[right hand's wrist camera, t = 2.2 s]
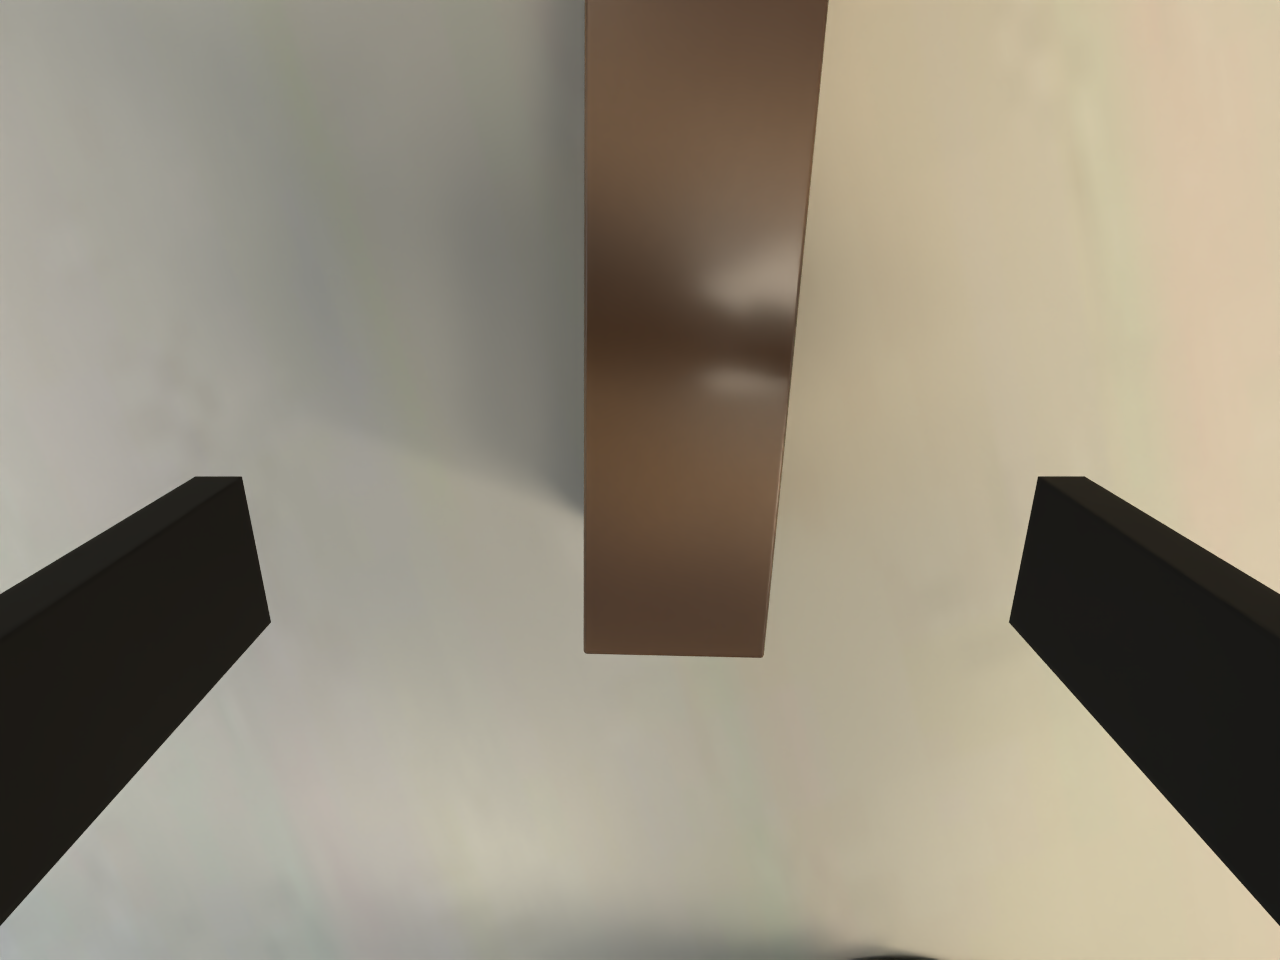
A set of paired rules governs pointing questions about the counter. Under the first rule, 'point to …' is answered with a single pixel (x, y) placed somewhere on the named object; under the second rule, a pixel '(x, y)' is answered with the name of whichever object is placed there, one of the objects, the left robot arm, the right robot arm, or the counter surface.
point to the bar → (691, 311)
